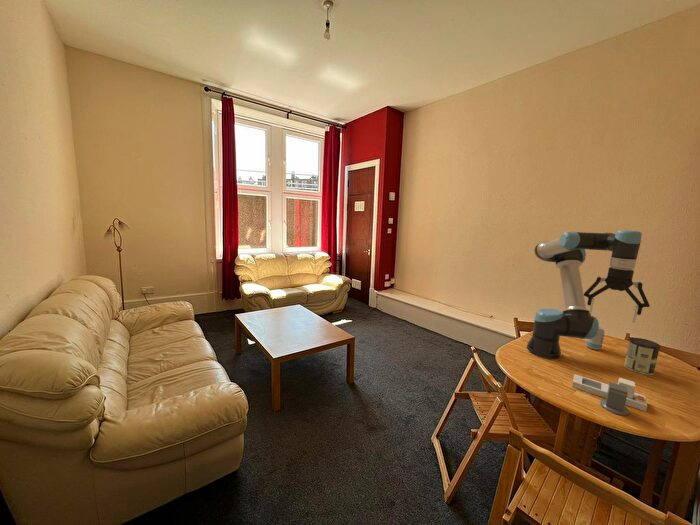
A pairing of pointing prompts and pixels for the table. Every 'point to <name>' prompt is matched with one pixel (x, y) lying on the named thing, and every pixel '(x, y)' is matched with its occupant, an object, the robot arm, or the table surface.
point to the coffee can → (642, 356)
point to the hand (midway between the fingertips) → (611, 317)
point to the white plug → (628, 387)
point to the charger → (616, 396)
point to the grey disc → (603, 404)
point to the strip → (602, 390)
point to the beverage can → (596, 340)
